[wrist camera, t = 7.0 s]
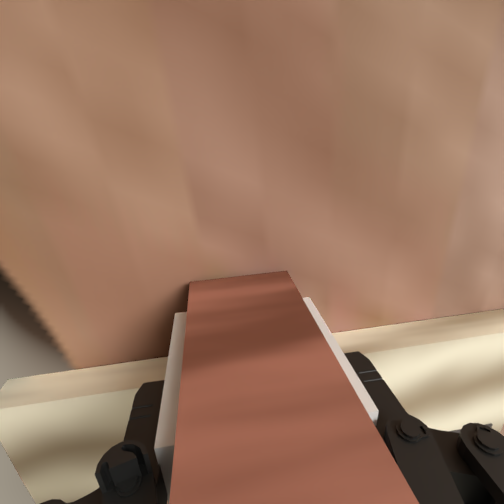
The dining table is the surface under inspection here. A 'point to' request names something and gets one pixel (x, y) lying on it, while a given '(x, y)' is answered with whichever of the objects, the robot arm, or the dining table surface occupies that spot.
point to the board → (138, 372)
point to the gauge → (271, 406)
